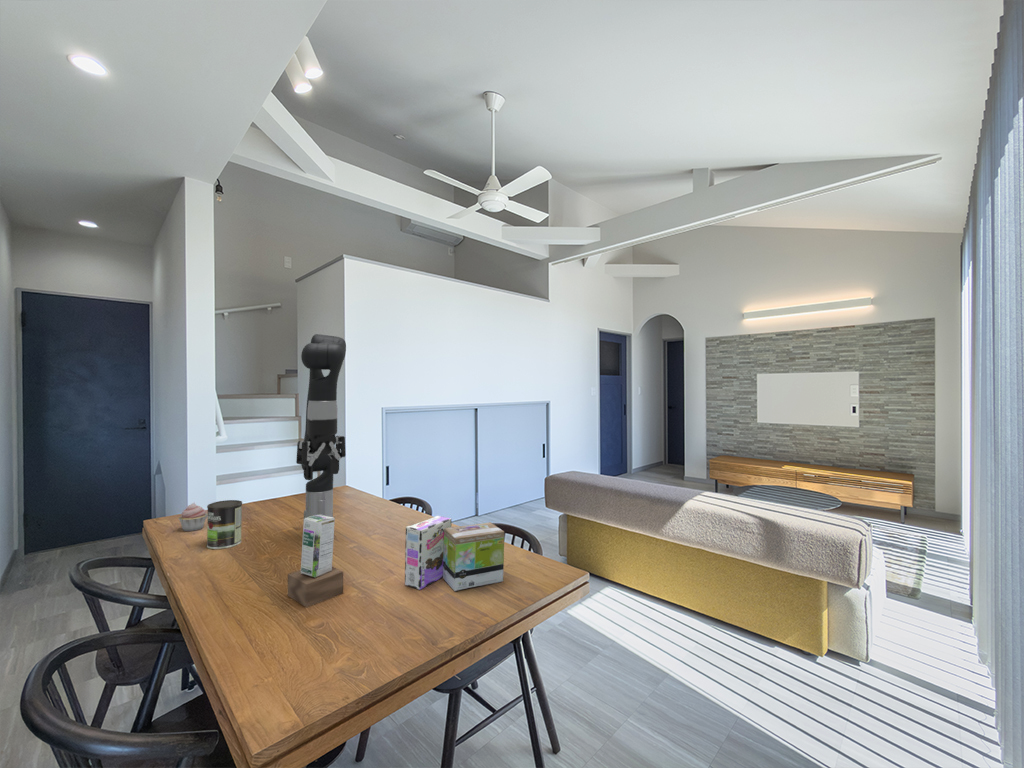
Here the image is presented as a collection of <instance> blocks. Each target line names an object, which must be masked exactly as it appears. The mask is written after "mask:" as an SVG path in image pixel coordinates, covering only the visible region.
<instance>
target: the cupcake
mask: <svg viewBox="0 0 1024 768" xmlns="http://www.w3.org/2000/svg"><path fill="white" fill-rule="evenodd" d="M206 519H208V513H207V511H206V509H204V508H203V507H202V506H200V505H197V504H196V503H195V502H193V503H190V504H189V505H187V506H186V508H185V509H184V510H183V511H181V515H180V517H178V520H179V522H180V525H181V528H182V531H184V532H195V531H199V530H202V529H203V528H204V525H205V522H206Z"/></svg>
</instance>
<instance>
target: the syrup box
mask: <svg viewBox="0 0 1024 768" xmlns="http://www.w3.org/2000/svg"><path fill="white" fill-rule="evenodd" d="M335 519H336V518H335V517H334V516H333V517H328V516H324V515H314V516H310V517H307V518H305V519H304V518H303V527H302V530H303V531H302V544H301V545H302V546H301V559H300V561H301V562H300V570H301V574H306V575H309V576H312V577H314V578H315V577H318V576H320V575H323V574H325V573H327V572H329V571H331V570H332V567H333V556H334V555H333V552H334V537H335Z"/></svg>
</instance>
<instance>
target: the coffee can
mask: <svg viewBox="0 0 1024 768" xmlns="http://www.w3.org/2000/svg"><path fill="white" fill-rule="evenodd" d="M206 508H207V515H208V516H207V522H206V523H207V525H206V526H207V530H206V531H207V532H206V536H207V537H206V548H207V549H209V550H222V549H223V550H224V549H229V548H233V547H235V546H238V545H240V544H241V543H242V521H243V520H242V517H243V516H242V515H243V514H242V513H243V512H242V511H243V510H242V509H243V501H242V500H238V499H237V500H236V499H229V500H228V499H227V500H226V499H225V500H219V501H214V502H211V503H209V504H207V505H206Z"/></svg>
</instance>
